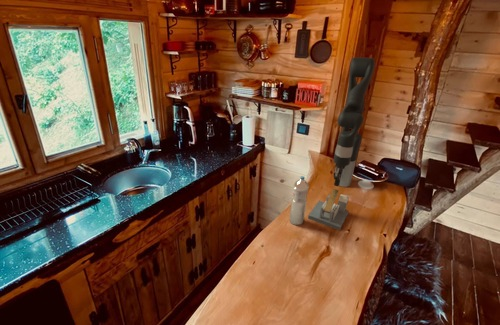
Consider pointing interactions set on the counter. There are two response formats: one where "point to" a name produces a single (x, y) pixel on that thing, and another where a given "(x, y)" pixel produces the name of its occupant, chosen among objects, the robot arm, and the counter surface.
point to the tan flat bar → (331, 201)
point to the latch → (343, 198)
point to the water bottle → (299, 201)
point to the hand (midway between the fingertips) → (336, 185)
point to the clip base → (325, 219)
